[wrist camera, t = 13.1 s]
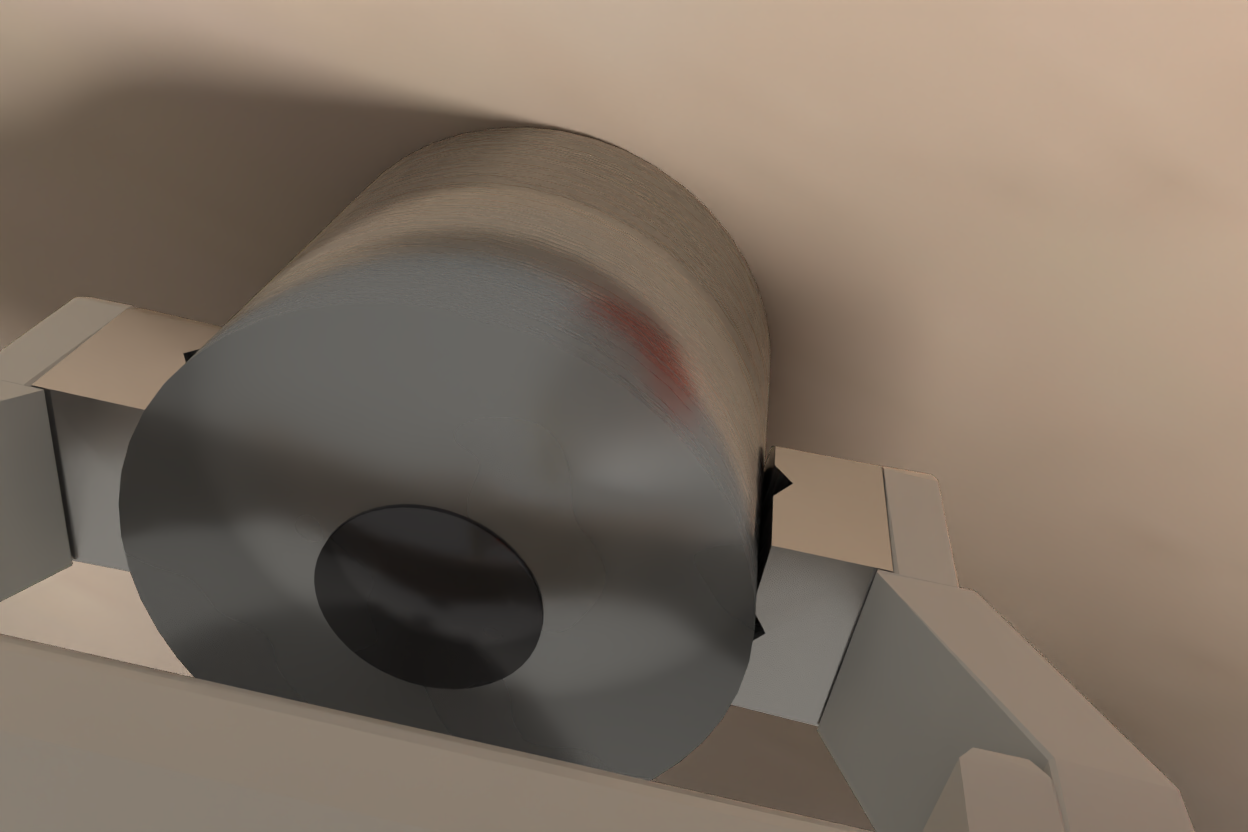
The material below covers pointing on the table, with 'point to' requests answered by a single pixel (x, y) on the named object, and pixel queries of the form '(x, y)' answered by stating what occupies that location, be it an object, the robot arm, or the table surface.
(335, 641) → the spacer
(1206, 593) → the table surface
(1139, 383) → the table surface
